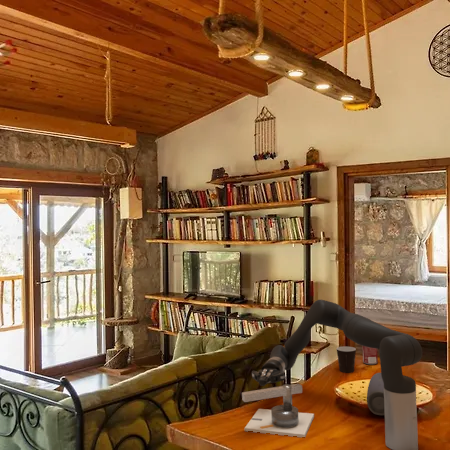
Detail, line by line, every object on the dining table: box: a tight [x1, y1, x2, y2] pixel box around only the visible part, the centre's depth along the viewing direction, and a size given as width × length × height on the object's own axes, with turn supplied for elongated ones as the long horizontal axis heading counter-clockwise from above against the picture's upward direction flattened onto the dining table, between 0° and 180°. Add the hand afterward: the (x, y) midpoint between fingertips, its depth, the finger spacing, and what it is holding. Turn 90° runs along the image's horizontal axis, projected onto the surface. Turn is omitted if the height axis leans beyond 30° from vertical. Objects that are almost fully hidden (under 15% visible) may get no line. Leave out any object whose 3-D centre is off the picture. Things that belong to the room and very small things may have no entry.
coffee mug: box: [336, 346, 357, 374], centre depth 229 cm, size 12×9×10 cm
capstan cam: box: [241, 383, 303, 427], centre depth 169 cm, size 21×9×12 cm, turn 110°
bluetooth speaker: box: [366, 372, 385, 416], centre depth 185 cm, size 23×9×10 cm, turn 161°
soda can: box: [361, 345, 379, 366], centre depth 241 cm, size 7×7×12 cm
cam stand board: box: [244, 408, 315, 438], centre depth 172 cm, size 20×18×1 cm
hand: (262, 382), depth 178 cm, fingers closed
